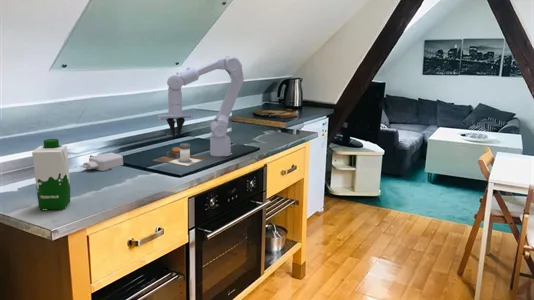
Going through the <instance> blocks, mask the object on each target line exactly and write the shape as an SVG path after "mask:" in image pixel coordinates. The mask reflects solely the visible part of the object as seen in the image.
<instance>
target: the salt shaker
mask: <svg viewBox="0 0 534 300" xmlns="http://www.w3.org/2000/svg"><path fill="white" fill-rule="evenodd" d="M179 147H180V161H181V162H189V161H190V155H191V150H190V149H191V144H190V143H187V142H186V143H184V142H183V143H179Z"/></svg>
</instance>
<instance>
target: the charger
mask: <svg viewBox="0 0 534 300" xmlns="http://www.w3.org/2000/svg"><path fill="white" fill-rule="evenodd" d="M123 165H124V157H123V156H122V155H121V154H118V153H114V152H107V153H102V154H97V155H93V156H92V155H91V156H89V158H88V161H87V162H84V163H83V164H82V165H80V168H85V169H87V170H92V169H93V170H97V171H100V172H105V171H110V170H112V169H113V168H115V167H119V166H123Z"/></svg>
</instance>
